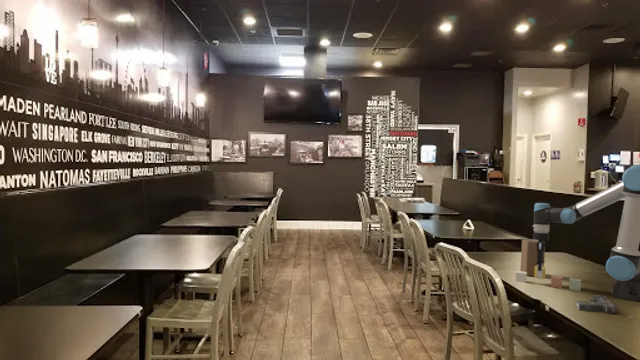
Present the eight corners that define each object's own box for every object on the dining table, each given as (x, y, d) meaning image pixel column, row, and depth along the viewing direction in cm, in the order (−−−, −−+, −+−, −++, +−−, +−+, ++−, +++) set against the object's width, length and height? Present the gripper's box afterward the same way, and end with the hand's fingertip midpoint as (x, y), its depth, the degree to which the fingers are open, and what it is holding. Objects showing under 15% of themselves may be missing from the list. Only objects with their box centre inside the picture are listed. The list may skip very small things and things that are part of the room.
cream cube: (526, 281, 248) (526, 272, 247) (525, 283, 243) (526, 273, 243) (516, 279, 250) (516, 270, 250) (515, 281, 246) (515, 272, 245)
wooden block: (537, 273, 268) (539, 239, 267) (544, 277, 258) (545, 242, 257) (519, 272, 269) (521, 238, 268) (525, 276, 259) (527, 241, 258)
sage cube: (580, 288, 235) (580, 279, 235) (580, 291, 231) (580, 281, 231) (569, 287, 238) (569, 277, 238) (569, 289, 233) (569, 279, 233)
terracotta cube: (561, 286, 239) (562, 276, 239) (561, 288, 235) (562, 278, 235) (551, 284, 242) (551, 275, 242) (550, 286, 237) (551, 277, 237)
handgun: (569, 299, 218) (605, 302, 213) (579, 312, 198) (618, 315, 194) (569, 291, 218) (605, 294, 213) (579, 303, 198) (619, 306, 194)
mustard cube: (545, 276, 243) (545, 267, 243) (544, 278, 239) (545, 268, 238) (534, 275, 245) (535, 265, 245) (534, 276, 241) (534, 267, 241)
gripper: (534, 229, 251) (533, 271, 252) (532, 233, 235) (530, 278, 236) (549, 230, 248) (548, 273, 248) (548, 234, 232) (546, 280, 232)
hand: (539, 275), depth 242 cm, fingers closed on mustard cube, 5 cm apart
